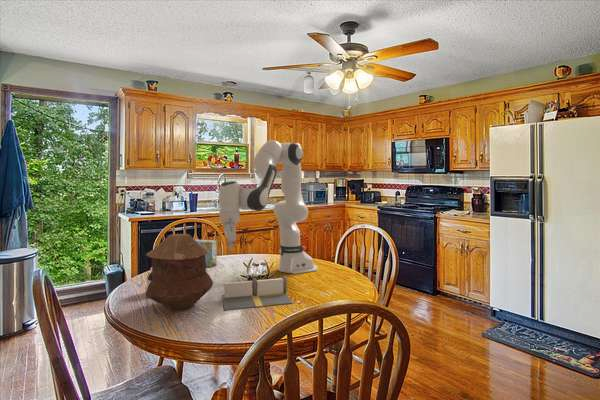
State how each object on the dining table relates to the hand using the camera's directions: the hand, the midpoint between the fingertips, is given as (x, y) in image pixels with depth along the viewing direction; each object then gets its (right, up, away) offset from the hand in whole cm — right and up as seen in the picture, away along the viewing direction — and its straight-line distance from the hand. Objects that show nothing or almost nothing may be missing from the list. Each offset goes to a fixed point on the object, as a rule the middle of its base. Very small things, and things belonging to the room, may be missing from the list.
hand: (230, 248), depth 158 cm
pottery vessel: (-17, -22, -14) cm, 32 cm away
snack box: (-29, -18, +53) cm, 62 cm away
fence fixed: (+18, -21, 0) cm, 27 cm away
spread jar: (-33, -21, +6) cm, 40 cm away
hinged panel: (+4, -21, -3) cm, 21 cm away
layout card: (+12, -22, -5) cm, 25 cm away
